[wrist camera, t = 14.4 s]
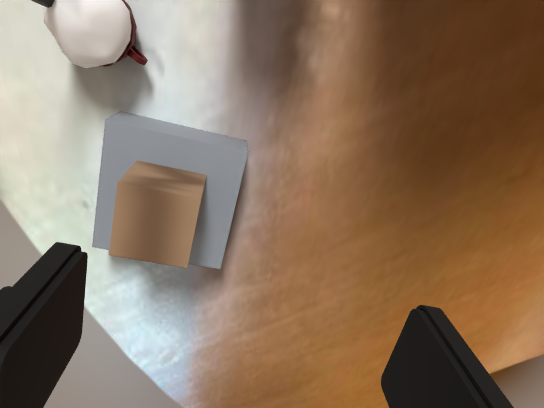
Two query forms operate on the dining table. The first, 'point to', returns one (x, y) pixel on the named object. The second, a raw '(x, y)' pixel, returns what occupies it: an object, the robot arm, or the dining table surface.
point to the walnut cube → (156, 214)
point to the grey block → (181, 155)
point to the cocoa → (92, 30)
